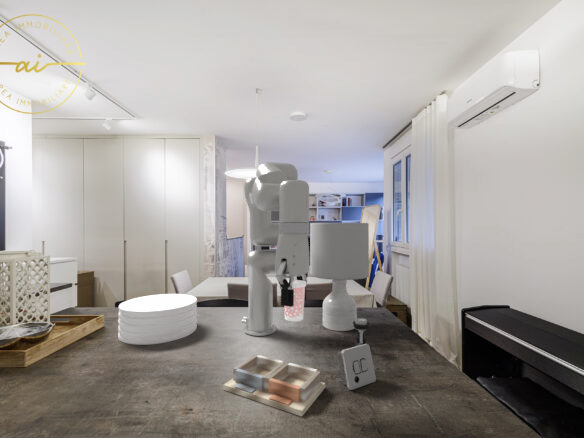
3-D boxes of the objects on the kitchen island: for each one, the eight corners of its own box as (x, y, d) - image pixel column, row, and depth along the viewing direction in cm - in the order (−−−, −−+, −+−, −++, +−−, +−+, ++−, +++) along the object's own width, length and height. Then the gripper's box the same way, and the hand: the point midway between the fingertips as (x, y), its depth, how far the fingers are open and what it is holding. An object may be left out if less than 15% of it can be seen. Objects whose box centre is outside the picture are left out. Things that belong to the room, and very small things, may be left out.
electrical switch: (349, 392, 73) (347, 352, 74) (336, 384, 77) (334, 347, 78) (376, 382, 78) (374, 345, 79) (362, 375, 82) (360, 341, 83)
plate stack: (206, 334, 112) (206, 304, 113) (121, 351, 97) (122, 316, 97) (186, 316, 135) (186, 291, 136) (115, 327, 120) (116, 299, 120)
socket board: (223, 389, 74) (223, 372, 74) (253, 367, 85) (254, 353, 85) (302, 416, 63) (302, 396, 63) (325, 387, 75) (325, 370, 75)
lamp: (360, 316, 135) (359, 223, 136) (377, 335, 111) (376, 222, 112) (307, 316, 134) (307, 223, 135) (313, 336, 110) (313, 222, 111)
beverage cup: (291, 313, 77) (291, 259, 78) (311, 317, 74) (311, 261, 74) (276, 319, 72) (276, 262, 73) (297, 324, 69) (297, 263, 69)
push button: (370, 356, 93) (369, 324, 93) (352, 354, 94) (352, 323, 95) (369, 347, 100) (369, 318, 100) (353, 346, 101) (353, 316, 101)
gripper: (296, 229, 83) (296, 294, 83) (262, 230, 68) (261, 309, 67) (321, 230, 80) (321, 297, 79) (290, 230, 64) (290, 313, 64)
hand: (294, 301), depth 73 cm, fingers closed on beverage cup, 6 cm apart
